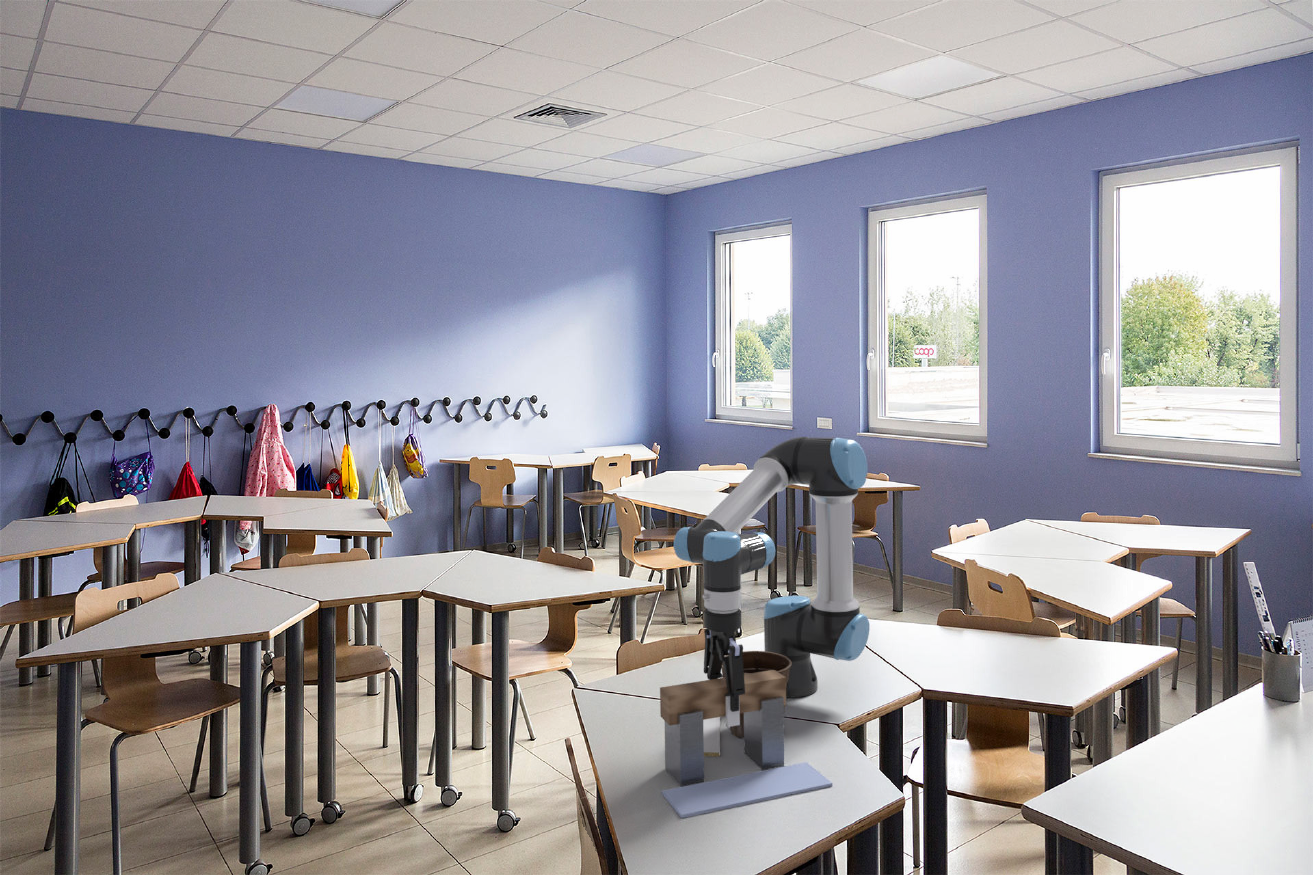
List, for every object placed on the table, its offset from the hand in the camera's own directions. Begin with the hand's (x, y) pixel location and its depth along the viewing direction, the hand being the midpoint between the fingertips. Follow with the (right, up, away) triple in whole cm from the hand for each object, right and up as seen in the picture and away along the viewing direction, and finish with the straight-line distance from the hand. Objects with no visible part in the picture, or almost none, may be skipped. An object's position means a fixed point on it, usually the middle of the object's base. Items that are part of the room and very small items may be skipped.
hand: (724, 717), depth 180 cm
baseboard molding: (-5, -10, +22) cm, 25 cm away
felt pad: (+4, -11, -9) cm, 15 cm away
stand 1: (-8, -11, -2) cm, 14 cm away
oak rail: (0, +1, 0) cm, 1 cm away
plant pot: (+9, -9, +19) cm, 23 cm away
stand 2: (+9, -10, +4) cm, 14 cm away
